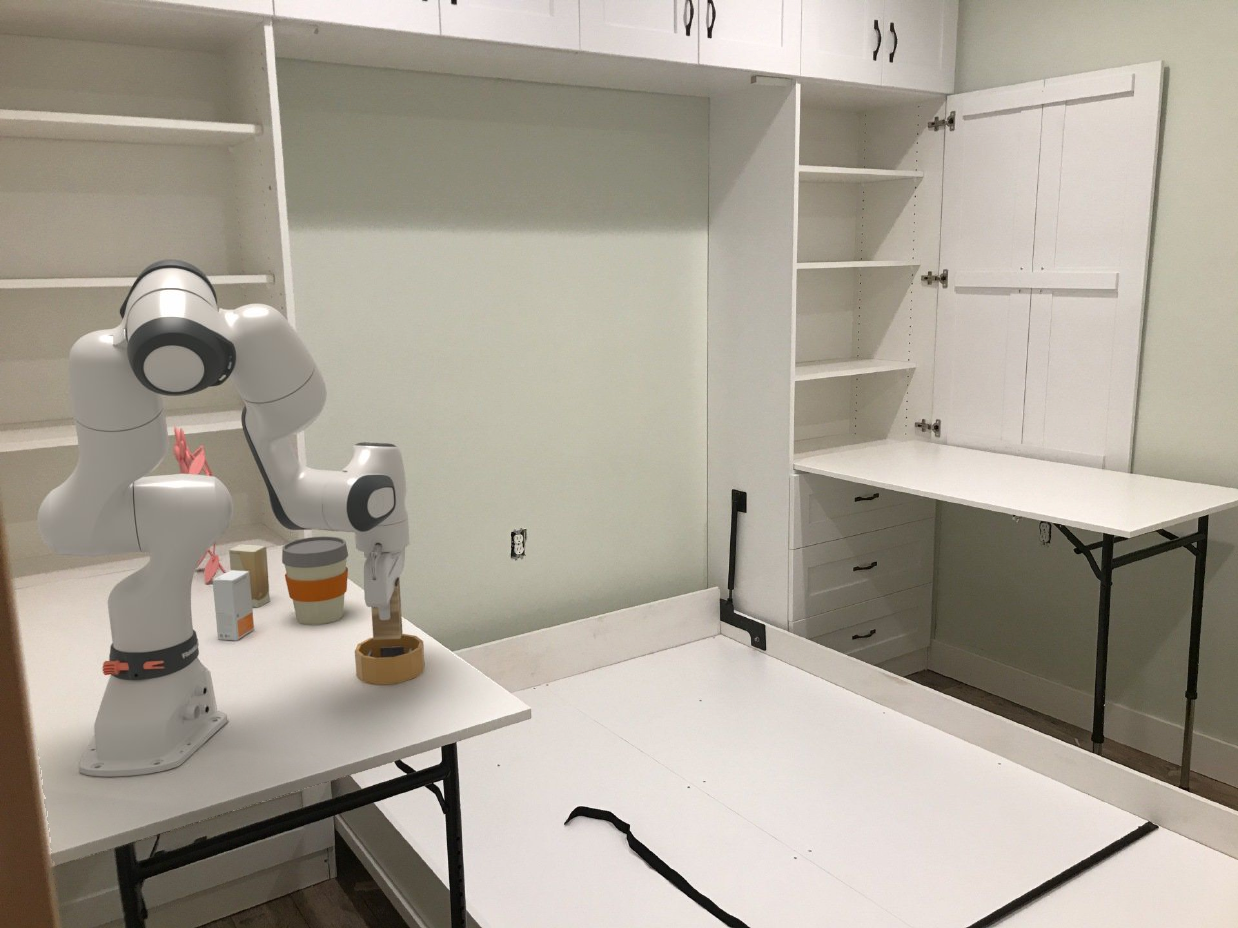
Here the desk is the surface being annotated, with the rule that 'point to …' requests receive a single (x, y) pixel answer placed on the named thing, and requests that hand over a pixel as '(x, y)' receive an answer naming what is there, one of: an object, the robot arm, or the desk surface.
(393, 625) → the tall wooden block
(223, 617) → the skincare box
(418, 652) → the bowl
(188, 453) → the pink branch
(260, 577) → the skincare box
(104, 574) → the desk surface
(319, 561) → the reusable coffee cup
